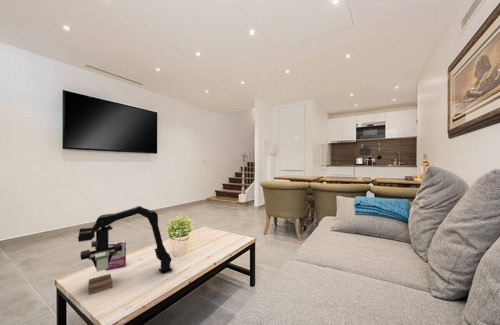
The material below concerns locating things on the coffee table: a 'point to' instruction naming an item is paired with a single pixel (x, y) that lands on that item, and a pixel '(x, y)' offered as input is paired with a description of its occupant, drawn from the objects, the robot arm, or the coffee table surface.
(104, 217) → the robot arm
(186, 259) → the coffee table surface
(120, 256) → the candy bar box
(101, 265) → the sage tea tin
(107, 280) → the walnut block
